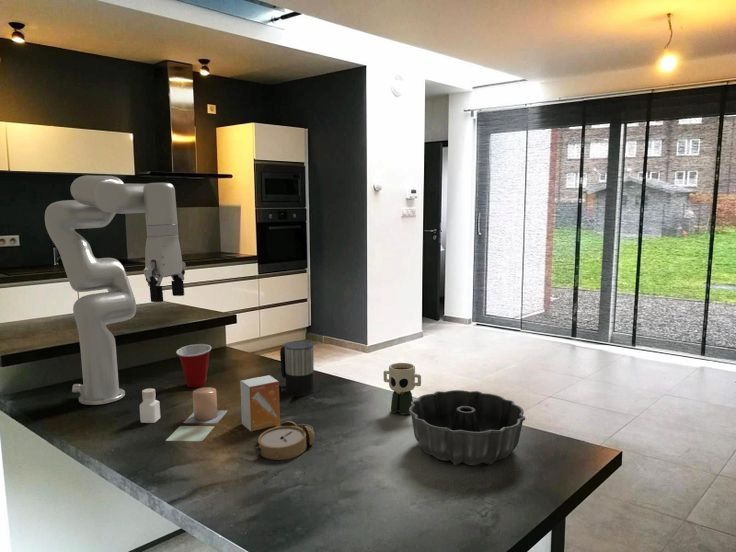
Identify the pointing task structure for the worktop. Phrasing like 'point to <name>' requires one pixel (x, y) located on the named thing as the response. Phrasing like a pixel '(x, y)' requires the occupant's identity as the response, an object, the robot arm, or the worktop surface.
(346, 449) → the worktop surface
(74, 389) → the robot arm
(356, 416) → the worktop surface
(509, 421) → the bundt pan
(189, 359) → the plastic cup
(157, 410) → the salt shaker
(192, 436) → the board
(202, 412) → the peach rounded cylinder
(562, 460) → the worktop surface
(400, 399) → the character mug
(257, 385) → the small box
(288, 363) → the milk frother
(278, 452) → the alarm clock
